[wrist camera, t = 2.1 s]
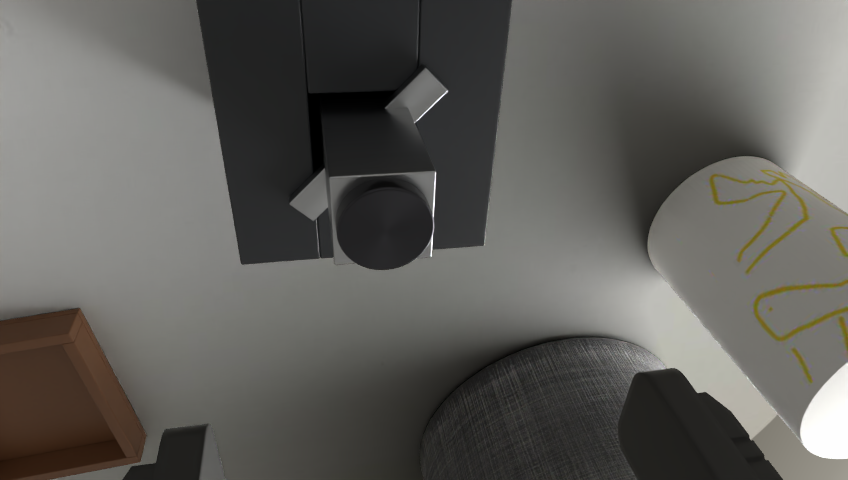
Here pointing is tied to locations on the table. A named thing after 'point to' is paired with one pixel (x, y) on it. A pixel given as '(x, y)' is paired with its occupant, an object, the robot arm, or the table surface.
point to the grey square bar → (375, 174)
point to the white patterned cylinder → (766, 286)
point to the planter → (538, 415)
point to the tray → (61, 401)
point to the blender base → (349, 72)
